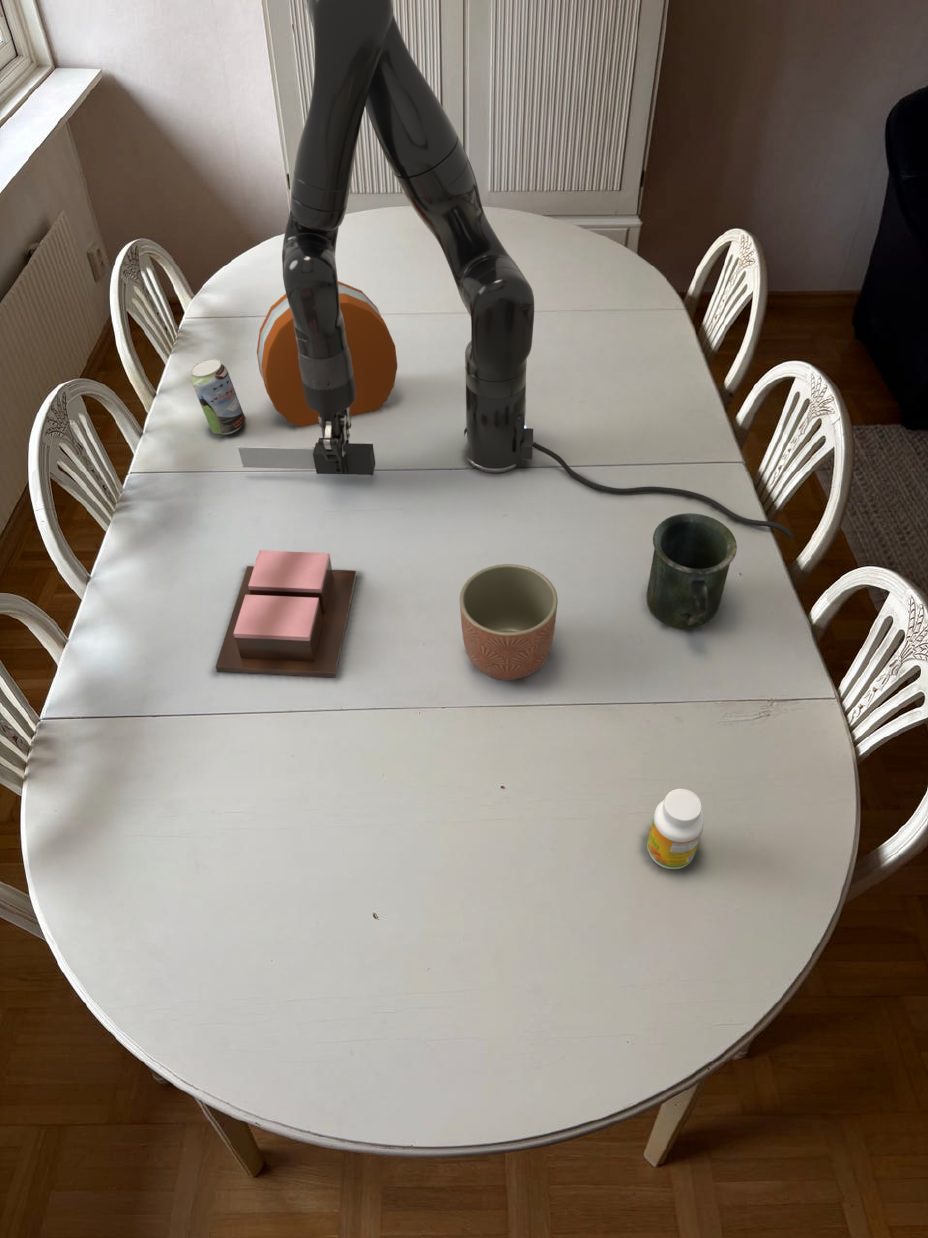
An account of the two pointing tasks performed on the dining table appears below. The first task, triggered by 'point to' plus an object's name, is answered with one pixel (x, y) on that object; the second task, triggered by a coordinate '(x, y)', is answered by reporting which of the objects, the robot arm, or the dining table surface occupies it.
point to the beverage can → (217, 396)
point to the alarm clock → (367, 352)
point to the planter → (508, 620)
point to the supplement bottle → (676, 829)
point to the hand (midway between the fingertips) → (342, 465)
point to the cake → (288, 616)
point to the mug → (689, 569)
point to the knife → (308, 458)
